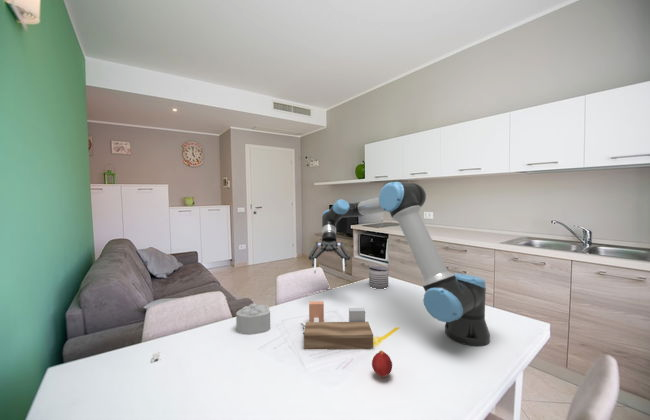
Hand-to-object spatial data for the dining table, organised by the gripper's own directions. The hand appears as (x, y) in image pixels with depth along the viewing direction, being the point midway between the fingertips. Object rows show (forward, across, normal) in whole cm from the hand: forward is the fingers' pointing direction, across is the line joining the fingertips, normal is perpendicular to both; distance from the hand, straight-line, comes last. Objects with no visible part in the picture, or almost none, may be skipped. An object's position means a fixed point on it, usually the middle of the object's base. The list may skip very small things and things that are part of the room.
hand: (329, 271), depth 126 cm
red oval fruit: (+46, -15, +22) cm, 53 cm away
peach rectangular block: (+26, +5, +2) cm, 26 cm away
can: (-10, -30, -35) cm, 47 cm away
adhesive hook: (+41, +58, +15) cm, 72 cm away
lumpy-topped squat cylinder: (+26, +31, 0) cm, 40 cm away
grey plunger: (+30, -11, +7) cm, 33 cm away
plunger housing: (+33, -3, +8) cm, 34 cm away
